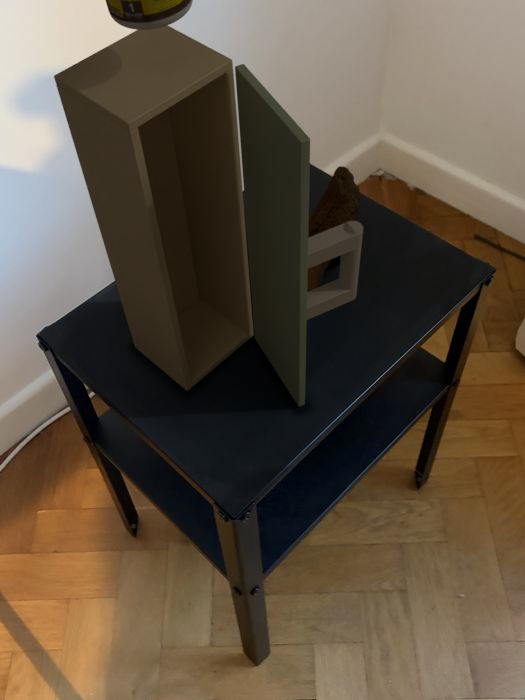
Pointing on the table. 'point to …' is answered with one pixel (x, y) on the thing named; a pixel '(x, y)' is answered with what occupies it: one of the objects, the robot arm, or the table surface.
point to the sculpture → (332, 215)
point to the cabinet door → (286, 233)
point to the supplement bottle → (147, 12)
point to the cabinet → (166, 193)
